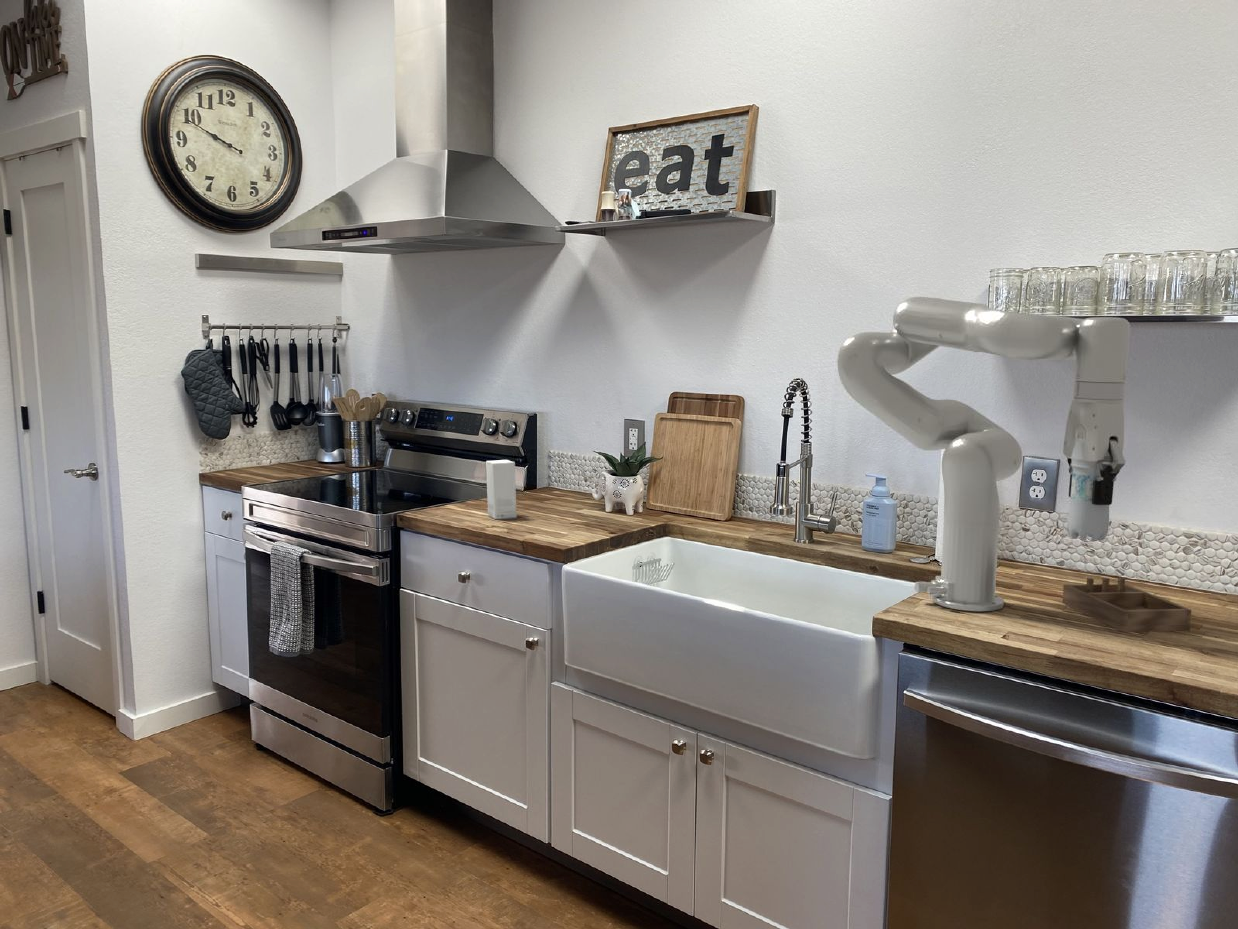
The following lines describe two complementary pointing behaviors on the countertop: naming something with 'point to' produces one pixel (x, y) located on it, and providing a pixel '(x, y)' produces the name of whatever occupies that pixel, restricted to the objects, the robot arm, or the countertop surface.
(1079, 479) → the bottle
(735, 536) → the countertop surface
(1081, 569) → the countertop surface
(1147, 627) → the tray
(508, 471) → the skincare box
